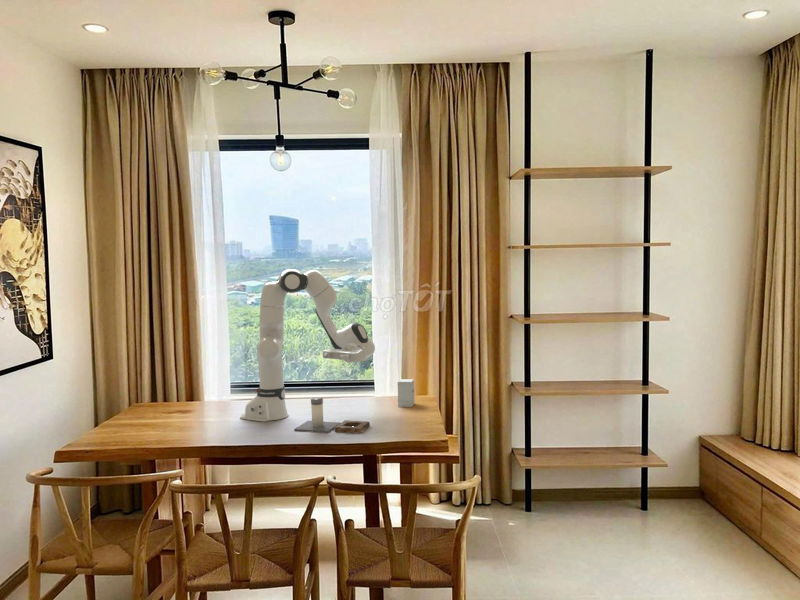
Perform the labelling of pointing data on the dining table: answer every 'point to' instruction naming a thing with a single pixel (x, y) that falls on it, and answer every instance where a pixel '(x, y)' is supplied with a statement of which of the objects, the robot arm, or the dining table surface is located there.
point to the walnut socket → (347, 426)
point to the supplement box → (405, 392)
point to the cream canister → (317, 412)
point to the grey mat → (325, 428)
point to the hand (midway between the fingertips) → (332, 357)
